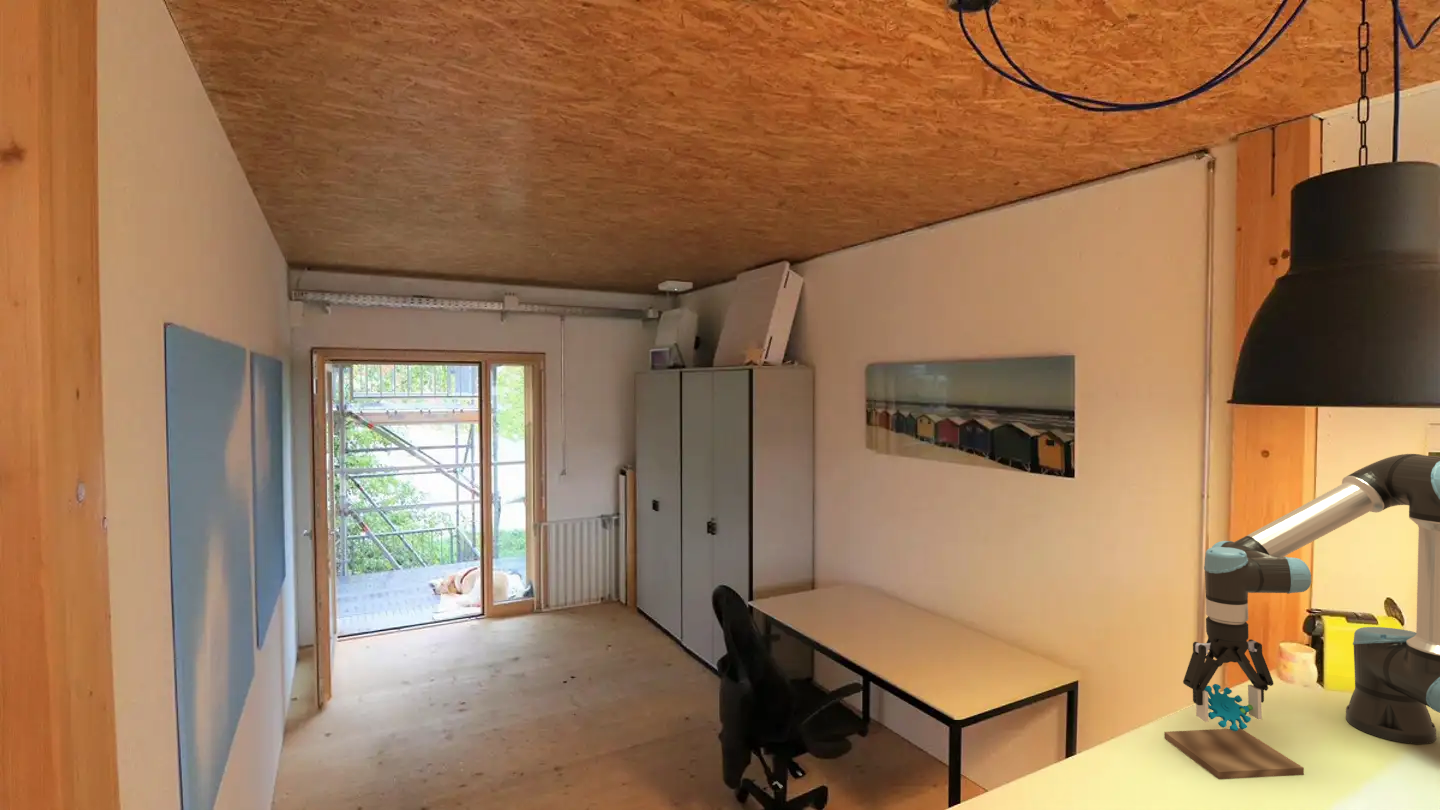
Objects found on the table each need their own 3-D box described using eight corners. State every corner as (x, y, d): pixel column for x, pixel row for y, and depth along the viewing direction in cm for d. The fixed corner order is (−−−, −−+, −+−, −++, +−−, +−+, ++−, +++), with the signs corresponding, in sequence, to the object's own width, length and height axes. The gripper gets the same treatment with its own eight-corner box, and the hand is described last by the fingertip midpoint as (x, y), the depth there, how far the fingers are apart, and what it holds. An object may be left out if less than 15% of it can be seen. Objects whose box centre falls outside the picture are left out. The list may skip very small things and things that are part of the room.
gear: (1214, 726, 148) (1196, 680, 154) (1198, 735, 152) (1181, 690, 159) (1266, 732, 147) (1245, 685, 154) (1249, 741, 152) (1229, 696, 158)
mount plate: (1240, 734, 160) (1240, 728, 160) (1303, 774, 143) (1303, 767, 143) (1164, 738, 160) (1164, 731, 160) (1218, 779, 143) (1218, 772, 143)
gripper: (1265, 611, 155) (1267, 707, 155) (1162, 615, 154) (1164, 712, 155) (1293, 622, 147) (1295, 723, 148) (1186, 627, 147) (1188, 728, 147)
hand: (1228, 717), depth 151 cm, fingers closed on gear, 11 cm apart
